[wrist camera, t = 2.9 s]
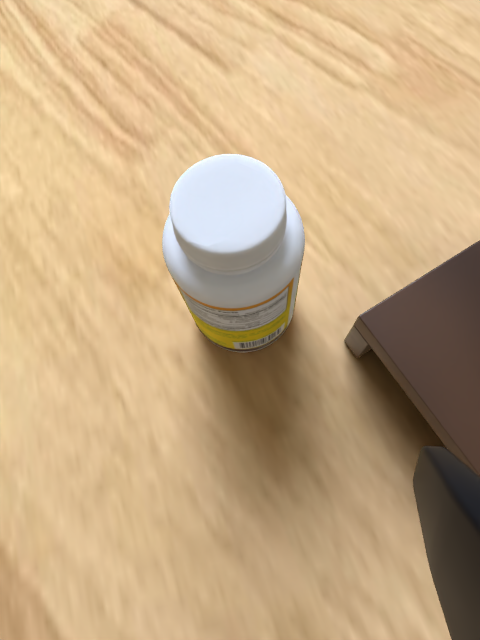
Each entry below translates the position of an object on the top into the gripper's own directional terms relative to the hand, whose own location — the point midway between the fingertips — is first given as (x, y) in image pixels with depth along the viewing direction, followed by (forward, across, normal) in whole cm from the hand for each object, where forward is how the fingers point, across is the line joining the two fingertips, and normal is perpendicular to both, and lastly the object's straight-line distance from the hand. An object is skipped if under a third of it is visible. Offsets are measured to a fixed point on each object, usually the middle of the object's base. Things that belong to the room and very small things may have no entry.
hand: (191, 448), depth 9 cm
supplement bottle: (+15, 0, +4) cm, 16 cm away
